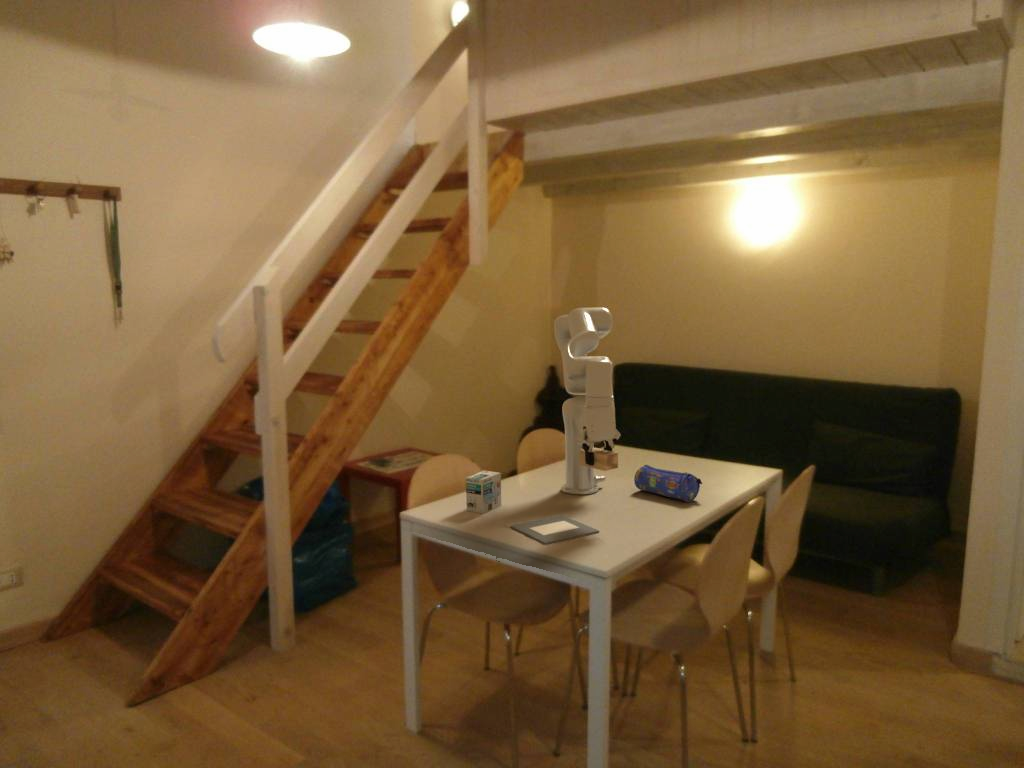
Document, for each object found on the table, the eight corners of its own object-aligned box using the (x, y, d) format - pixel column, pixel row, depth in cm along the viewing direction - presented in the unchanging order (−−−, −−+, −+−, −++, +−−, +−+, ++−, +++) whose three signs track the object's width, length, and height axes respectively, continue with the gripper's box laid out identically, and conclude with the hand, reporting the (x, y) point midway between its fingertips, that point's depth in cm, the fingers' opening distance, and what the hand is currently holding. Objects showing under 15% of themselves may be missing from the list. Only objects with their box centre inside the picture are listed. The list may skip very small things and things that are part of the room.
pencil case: (702, 500, 237) (703, 471, 236) (686, 506, 231) (686, 476, 230) (648, 487, 254) (648, 460, 252) (632, 492, 248) (632, 464, 247)
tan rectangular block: (592, 461, 222) (592, 447, 222) (617, 467, 215) (618, 452, 214) (579, 465, 219) (579, 450, 218) (604, 471, 211) (604, 455, 210)
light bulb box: (483, 514, 226) (483, 479, 225) (465, 511, 230) (464, 477, 228) (502, 505, 235) (501, 472, 234) (484, 502, 239) (483, 469, 238)
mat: (562, 516, 222) (562, 514, 222) (599, 532, 207) (599, 530, 207) (510, 527, 213) (510, 525, 213) (545, 544, 198) (545, 542, 198)
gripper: (613, 397, 222) (613, 456, 224) (566, 403, 213) (567, 464, 215) (630, 400, 215) (630, 461, 218) (582, 406, 206) (582, 469, 209)
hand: (598, 462), depth 216 cm, fingers closed on tan rectangular block, 6 cm apart
